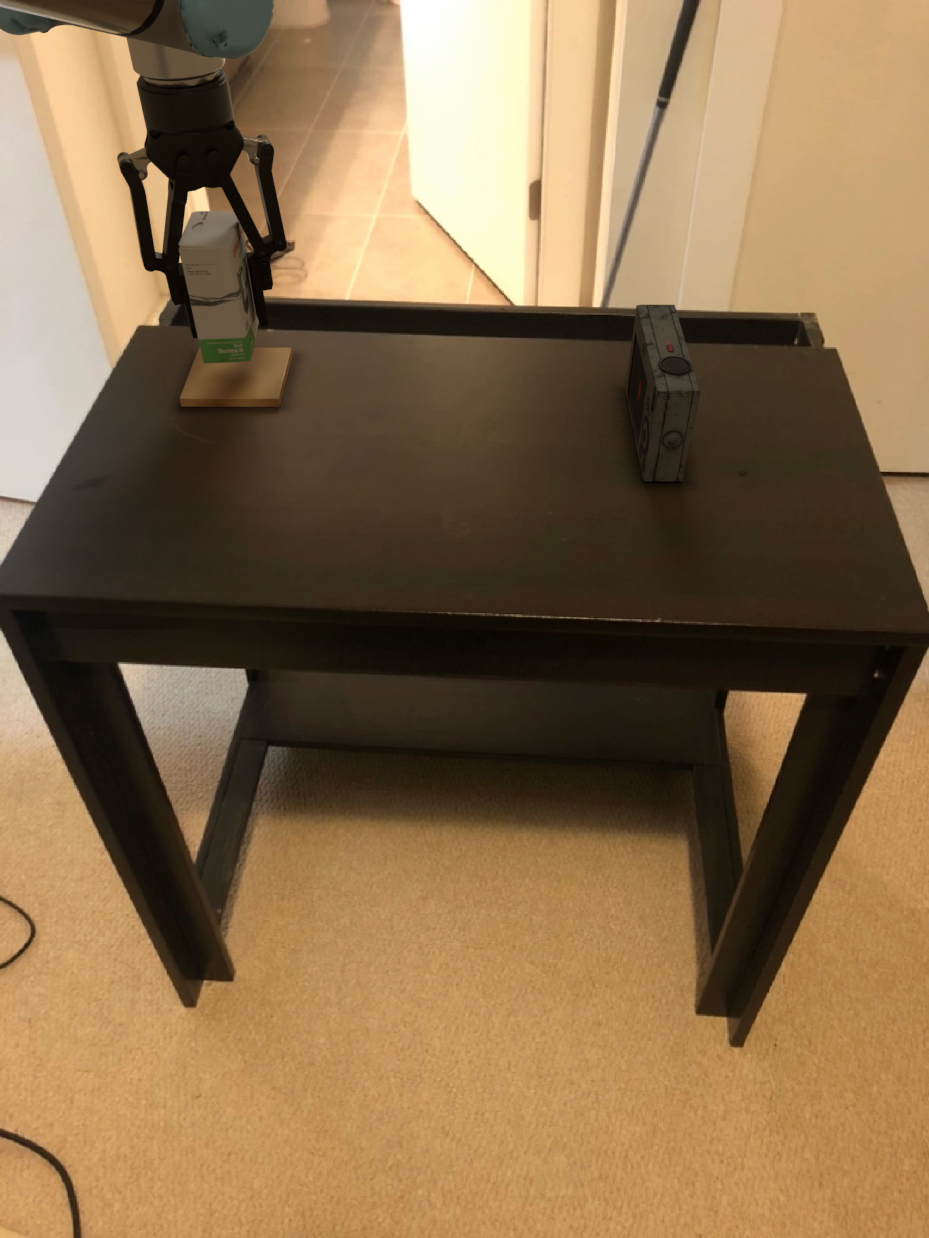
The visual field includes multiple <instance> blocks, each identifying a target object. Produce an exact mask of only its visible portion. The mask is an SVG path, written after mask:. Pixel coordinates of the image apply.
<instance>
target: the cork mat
mask: <svg viewBox="0 0 929 1238" xmlns="http://www.w3.org/2000/svg"><path fill="white" fill-rule="evenodd" d="M292 348H293V347H254V348H253V352H252V357H251V361H245V362H226V363H204V362H203V358H202V353H201V349H200V346H199V347H198V348H197V349H198V350H197V352H196V354H195V357H194V360H193V362H192V365H191V368H190V370H189V372H188V375H187V378H186V381H185V383H184V386H183V389H182V390H181V394H180V396H179V403H180V407H182V408H186V407H187V408H188V407H189V408H193V407H194V408H218V407H219V408H280V407H281V404H282V400H283V396H284V392H285V389H286V384H287V380H288V376H289V372H290V368H291V363H292V359H293V349H292Z"/></svg>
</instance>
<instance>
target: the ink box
mask: <svg viewBox="0 0 929 1238" xmlns="http://www.w3.org/2000/svg"><path fill="white" fill-rule="evenodd" d="M179 246H180V247H179V253H180V263H182V266H183V271H184V275H185V280H186V284H187V289H188V294H189V298H190V303H191V308H192V313H193V317H194V322H195V327H196V331H197V336H198V338H197V340H198V344H199V347H200V349H201V353H202V358H203V362H204V363H226V362H245V361H251V357H252V352H253V348H255V343H256V339H257V332H258V329H259V325H260V323H259V320H258V318H257V316H256V311H255V305H254V299H253V293H252V287H251V281H250V275H249V269H248V263H247V257H246V253H247V252H248V248H247V247H248V246H247V241H246V234H245V232H244V230H243V228H242V226H241V225H240V223H239V221H238V219H237V217H236V215H235V213H234V211H233V210H232V211H228V210H226V211H224V210H221V211H220V210H219V211H218V210H216V211H215V210H197V211H193V212H191V213H190V216H189V219H188V221H187V223H186V225H185V226H184V229H183V232H182V238H181V239H180V241H179Z"/></svg>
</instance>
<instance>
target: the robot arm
mask: <svg viewBox="0 0 929 1238" xmlns="http://www.w3.org/2000/svg"><path fill="white" fill-rule="evenodd" d="M274 3H275V2H274V0H0V30H1V31H3V32H5V33H6V34H10V35H14V36H24V35H30V34H35V33H41V34H46V33H49V31H51V29H54V28H55V27H60V26H73V27H77V28H82V29H87V30H90V31H95V32H100V33H105V34H108V35H112V36H113V35H114V36H118V37H123V38H126V44H127V48H128V52H129V56H130V61H131V65H132V70H133V71H134V72H135V73H136V74H137V75H139V77H138V79H137V80H136V88H137V92H138V97H139V102H140V106H141V111H142V115H143V120H144V125H145V129H146V137H145V140H144V143H143V147H142V148H140V149H138V150H135V151H133V152H131V153H128V152H125V151H122V152H119V153H118V155H117V158H116V160H117V165H118V168H119V171H120V174H121V176H122V177H123V179H124V181H125V182H126V184H127V186H128V188H129V195H130V199H131V200H130V201H131V207H132V212H133V217H134V224H135V228H136V229H135V230H136V235H137V242H138V247H139V252H140V253H139V254H140V258H141V261H142V265H143V268H144V269H145V270H146V271H147V272H148V273H150V272H152V273H153V272H155V271H157V272H161V273H163V274H164V276H165V279H166V282H167V287H168V293H169V296H170V300H171V302H172V303H173V305H174V306H179V305H184V309H185V310H184V311H185V313H186V318H187V323H188V328H189V330H190V333H191V336H192V339H198V336H197V331H196V327H195V322H194V317H193V313H192V308H191V303H190V298H189V294H188V289H187V284H186V280H185V275H184V271H183V266H182V262H180V260H181V257H180V253H179V247H180V246H179V241H180V239H181V238H182V234H183V232H184V222H185V214H186V213H185V212H186V205H187V203H188V197H189V196H188V195H189V192H193V191H194V192H195V191H198V190H200V189H203V188H207V189H217V188H220V189H221V190H222V192H223V193H224V196H225V197H226V199H227V201H228V203H229V205H230V207H231V209H232V211H234V213H235V215H236V217H237V219H238V221H239V223H240V225H241V226H242V228H243V230H244V234H245V237H246V238H247V240H248V242H249V244H250V246H251V248H252V250H253V251H247V253H246V257H247V263H248V269H249V275H250V281H251V287H252V293H253V299H254V305H255V311H256V316H257V318H258V320H259V325H260V327H261V328H262V327H267V326H269V319H268V313H267V312H268V311H267V307H266V300H265V294H264V291H265V292H266V291H271V290H273V286H274V281H273V275H272V268H271V260H272V255H275V254H276V253H278V252H284V251H286V250H287V247H288V243H287V238H286V234H285V233H286V232H285V227H284V223H283V218H282V213H281V209H280V204H279V199H278V194H277V189H276V184H275V181H274V175H273V164H274V158H275V157H274V156H275V148H274V146H273V144H272V143H271V141H270V139H269V137H268V136H267V135H266V134H259V135H257V136H256V137H255V136H249V135H242V133H241V131H240V130H239V128H238V127H237V124H236V122H235V121H236V120H235V115H234V108H233V101H232V95H231V89H230V84H229V77H228V74H227V73H226V72H225V71H224V70H223V69H222V68H223V67H224V65H225V64H226V59H227V60H239V59H244V58H245V57H247V56H249V55H251V54H252V53H254V52H255V51H257V50H258V48H260V46H261V45H262V43H263V42H264V40H265V39H266V36H268V33H269V30H270V28H271V25H272V22H273V17H274V12H273V9H274V7H275V4H274ZM243 151H244V152H246V157H247V159H248V161H249V162H250V163H251V164H252V165H253V167H254V171H255V172H254V173H255V177H256V181H257V186H258V190H259V196H260V200H261V204H262V209H263V213H264V218H265V222H266V223H265V224H266V227H267V232H268V234H267V235H265V236H263V237H262V235H261V233H260V231H259V229H258V227H257V225H256V223H255V221H254V219H253V217H252V215H251V213H250V211H249V209H248V207H247V205H246V203H245V201H244V199H243V197H242V195H241V193H240V191H239V189H238V187H237V185H236V183H235V181H234V178H232V175H231V174H232V172H233V171H234V168H235V166H236V165H237V162H238V161H239V158H240V156H241V154H242V152H243ZM151 163H152V165H154V166H155V167H156V168H157V169H158V170H159V171H160V172H161V173H162V175H164V176H165V177H166V178H167V179H168V180H167V200H166V210H165V218H164V220H165V221H164V231H163V238H162V248H161V249H162V250H161V252H160V251H159V252H158V251H156V249H155V242H154V237H153V230H152V224H151V218H150V211H149V205H148V200H147V194H146V189H145V185H144V183H143V181H145V180H146V179H147V178H148V176H149V172H148V166H149V164H151Z"/></svg>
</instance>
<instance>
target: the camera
mask: <svg viewBox="0 0 929 1238" xmlns="http://www.w3.org/2000/svg"><path fill="white" fill-rule="evenodd" d="M634 313H635V315H634V322H633V323H634V324H633V329H632V335H631V342H630V343H631V344H630V351H629V359H628V367H627V375H626V380H625V381H626V382H625V389H624V393H625V397H626V403H627V408H628V412H629V417H630V422H631V426H632V427H631V428H632V433H633V437H634V442H635V448H636V452H637V458H638V462H639V467H640V472H641V477H642V482H644V483H645V482H646V483H683V482H684V478H685V474H686V469H687V468H686V467H687V462H688V457H689V452H690V447H691V441H692V437H693V433H694V432H693V431H694V428H695V427H694V426H695V423H696V422H695V421H696V416H697V412H698V405H699V402H700V397H701V396H700V395H701V390H700V387H699V386H700V385H699V384H698V382H699V381H698V379H697V375H696V372H695V368H694V366H693V362H692V358H691V356H690V351H689V348H688V345H687V343H686V339H685V335H684V332H683V329H682V325H681V321H680V319H679V315H678V312H677V308H676V305H675V304H637V305H636V306H635V312H634Z"/></svg>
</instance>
